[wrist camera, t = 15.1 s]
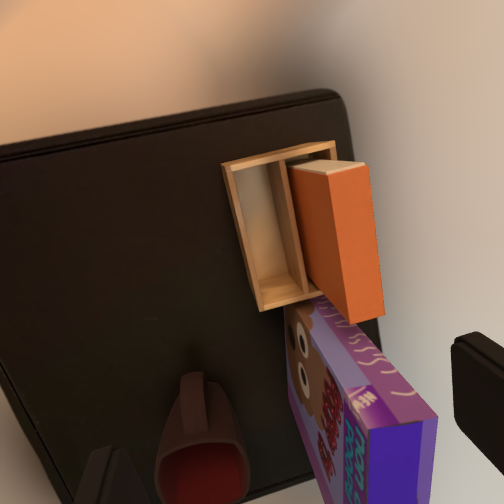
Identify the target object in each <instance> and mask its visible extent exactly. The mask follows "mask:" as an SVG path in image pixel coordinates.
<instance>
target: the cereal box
mask: <svg viewBox="0 0 504 504" xmlns="http://www.w3.org/2000/svg"><path fill="white" fill-rule="evenodd" d="M283 309H284V328H285V347H286V366H287V386H288V400H289V403H290V406H291V408H292V411H293V414H294V417H295V420H296V423H297V426H298V428H299V431H300V434H301V437H302V440H303V443H304V445H305V448H306V451H307V454H308V457H309V460H310V463H311V465H312V468H313V471H314V474H315V477H316V480H317V482H318V485H319V488H320V491H321V494H322V497H323V500H324V503H325V504H429V500H430V491H431V490H430V489H431V481H432V472H433V462H434V452H435V443H436V433H437V423H438V416H437V414H436V413H435V412H434V411H433V410H432V409H431V408H430V407H429V405H428V404H427V403H426V402H425V401H424V400H423V399H422V398H421V397H420V395H419V394H418V393H417V392H416V391H415V390H414V389H413V388H412V386H411V385H410V384H409V383H408V382H407V381H406V380H405V379H404V378H403V376H402V375H401V374H400V373H399V372H398V371H397V370H396V369H395V367H394V366H393V365H392V364H391V363H390V362H389V361H388V360H387V358H386V357H385V356H384V355H383V354H382V353H381V352H380V351H379V349H378V348H377V347H376V346H375V345H374V344H373V343H372V342H371V340H370V339H369V338H368V337H367V336H366V335H365V334H364V333H363V332H362V330H361V329H360V328H359V327H358V326H357V325H356V324H351V325H350V324H349V323H348V321H347V320H346V319H345V318H344V317H343V316H342V315H341V313H340V312H339V311H338V310H337V309H336V308H335V306H334V305H333V304H332V303H331V302H330V301H329V299H328V298H327V297H326V296H325V295H320V296H316V297H313V298H309V299H305V300H302V301H298V302H294V303H291V304H287V305H283Z"/></svg>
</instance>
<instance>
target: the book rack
mask: <svg viewBox="0 0 504 504" xmlns="http://www.w3.org/2000/svg"><path fill="white" fill-rule="evenodd" d="M303 158H305V159H319V160H333V161H337V155H336V147H335V141H323V142H311V143H306V144H301V145H297V146H293V147H289V148H284V149H280V150H276V151H272V152H268V153H263V154H259V155H255V156H251V157H247V158H242V159H238V160H234V161H230V162H226V163H221V164H220V165H221V169H222V173H223V178H224V182H225V186H226V190H227V194H228V198H229V202H230V206H231V210H232V214H233V218H234V223H235V227H236V231H237V235H238V239H239V243H240V247H241V251H242V255H243V259H244V264H245V268H246V272H247V276H248V280H249V284H250V287H251V290H252V292H253V295H254V298H255V301H256V303H257V306H258V309H259V312H262V311H265V310H269V309H272V308H276V307H280V306H283V305H287V304H291V303H294V302H298V301H302V300H305V299H309V298H313V297H316V296H320V295H324V294H323V292H322V291H321V290H320V289H319V288H318V287H317V285H316V284H315V283H314V282H313V281H312V280H311V279H310V277H309V276H308V275H307V274H306V272H305V266H304V261H303V256H302V250H301V245H300V239H299V234H298V229H297V223H296V218H295V213H294V207H293V202H292V197H291V191H290V186H289V181H288V175H287V170H286V164H285V163H286V162H291V161H295V160H299V159H303Z"/></svg>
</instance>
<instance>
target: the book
mask: <svg viewBox="0 0 504 504" xmlns="http://www.w3.org/2000/svg"><path fill="white" fill-rule="evenodd" d="M285 164H286V170H287V175H288V181H289V186H290V191H291V197H292V202H293V207H294V213H295V218H296V223H297V229H298V234H299V239H300V245H301V250H302V256H303V261H304V266H305V272H306V274H307V275H308V276H309V277H310V279H311V280H312V281H313V282H314V283H315V284H316V285H317V287H318V288H319V289H320V290H321V291H322V292H323V294H324V295H325V296H326V297H327V298H328V299H329V301H330V302H331V303H332V304H333V305H334V306H335V308H336V309H337V310H338V311H339V312H340V313H341V315H342V316H343V317H344V318H345V319H346V320H347V321H348V323H349V324H350V325H351V324H355V323H358V322H362V321H365V320H369V319H372V318H376V317H380V316H383V315H385V309H384V300H383V291H382V283H381V274H380V265H379V256H378V247H377V239H376V230H375V221H374V212H373V203H372V195H371V187H370V177H369V168H368V165H365V163H361V162H348V161H333V160H319V159H305V158H303V159H299V160H295V161H291V162H286V163H285Z"/></svg>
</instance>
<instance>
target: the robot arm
mask: <svg viewBox="0 0 504 504" xmlns="http://www.w3.org/2000/svg"><path fill="white" fill-rule="evenodd" d="M451 364H452V385H453V405H454V418H455V421H456V423H457V425H458V427H459V428H460V429H461V431H462V432H463V433H465V435H466V436H467V437H468V438H469V439H470V440H471V441H472V442H473V443H474V444H475V445H476V446H477V448H478V449H479V450H480V451H481V452H482V453H483V454H484V455H485V456H486V457H487V458H488V459H489V460H490V461H491V462H492V464H493V465H494V466H495V467H496V468H497V469H498V470H499V471H500V472H501V473H502V474H503V475H504V348H503V347H502V346H500V345H499V344H497V343H496V342H494V341H492V340H491V339H489V338H488V337H486V336H485V335H483V334H482V333H480V332H472V333H468V334H465V335H462V336H459V337H456V338H455V340H454V344H452V346H451ZM73 504H151V502H150V500H149V498H148V496H147V493H146V491H145V489H144V487H143V485H142V483H141V481H140V478H139V476H138V474H137V472H136V470H135V468H134V466H133V464H132V461H131V459H130V457H129V455H128V453H127V451H126V449H125V448H120V449H119V447H118V446H117V445H116V444H113V445H110V446H107V447H104V448H100V449H97V450H94V451H92V452H91V454H90V456H89V459H88V461H87V464H86V467H85V470H84V473H83V476H82V479H81V482H80V485H79V488H78V491H77V494H76V497H75V500H74V503H73Z"/></svg>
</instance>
